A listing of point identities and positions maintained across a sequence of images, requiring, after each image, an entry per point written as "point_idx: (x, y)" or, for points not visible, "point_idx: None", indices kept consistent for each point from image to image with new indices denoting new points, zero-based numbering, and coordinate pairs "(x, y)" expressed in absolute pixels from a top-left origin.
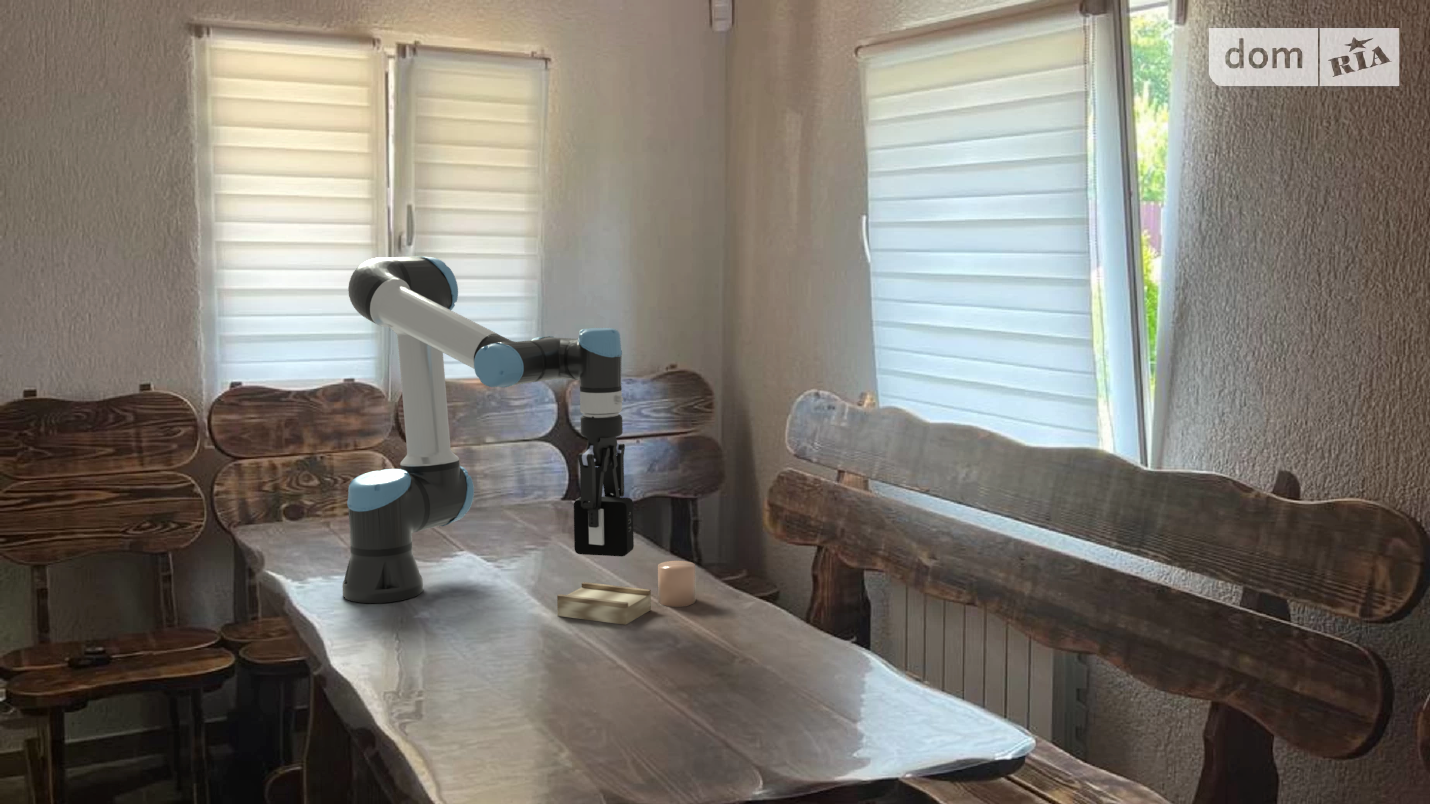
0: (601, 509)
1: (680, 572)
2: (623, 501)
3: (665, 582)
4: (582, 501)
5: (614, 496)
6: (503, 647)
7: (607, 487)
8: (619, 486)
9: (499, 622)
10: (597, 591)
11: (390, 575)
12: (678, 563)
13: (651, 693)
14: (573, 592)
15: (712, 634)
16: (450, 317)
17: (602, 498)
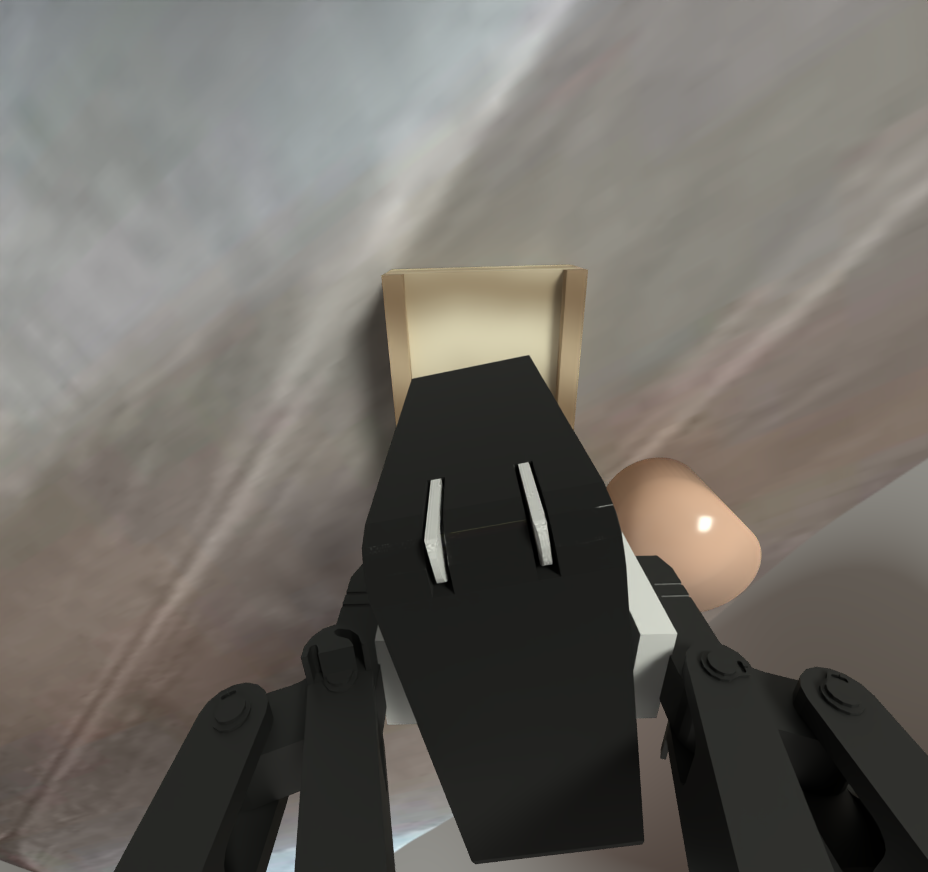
0: (396, 720)
1: None
2: (502, 859)
3: (625, 532)
4: (186, 761)
5: (677, 761)
6: (58, 292)
7: (708, 836)
8: (829, 859)
9: (226, 107)
10: (534, 350)
11: None
12: (724, 564)
13: (98, 681)
14: (491, 277)
15: None
16: None
17: (548, 735)
